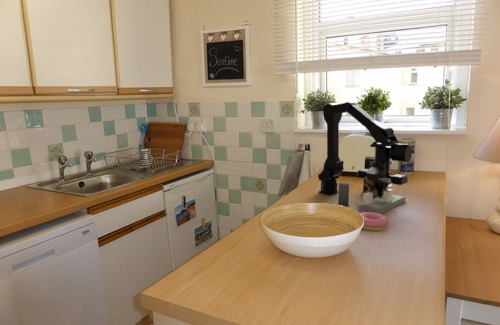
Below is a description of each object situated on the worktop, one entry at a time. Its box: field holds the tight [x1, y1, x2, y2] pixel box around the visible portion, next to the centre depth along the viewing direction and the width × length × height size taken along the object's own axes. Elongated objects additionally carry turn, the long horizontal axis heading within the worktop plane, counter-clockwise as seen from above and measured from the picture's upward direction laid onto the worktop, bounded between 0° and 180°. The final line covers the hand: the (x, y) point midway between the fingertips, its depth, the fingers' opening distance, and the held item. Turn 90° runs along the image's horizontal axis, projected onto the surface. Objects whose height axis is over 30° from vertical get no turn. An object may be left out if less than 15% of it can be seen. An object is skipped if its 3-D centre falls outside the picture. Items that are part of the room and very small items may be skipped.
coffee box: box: [362, 155, 378, 196], centre depth 162 cm, size 9×6×16 cm
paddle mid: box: [383, 189, 394, 203], centre depth 144 cm, size 2×4×4 cm, turn 132°
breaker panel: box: [358, 194, 406, 214], centre depth 146 cm, size 8×22×2 cm, turn 133°
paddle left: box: [362, 192, 374, 205], centre depth 142 cm, size 2×4×4 cm, turn 133°
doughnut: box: [359, 211, 390, 232], centre depth 125 cm, size 11×11×4 cm
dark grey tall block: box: [337, 182, 350, 207], centre depth 146 cm, size 4×4×9 cm
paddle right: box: [386, 183, 394, 191], centre depth 153 cm, size 2×4×4 cm, turn 133°
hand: (380, 197), depth 147 cm, fingers closed
